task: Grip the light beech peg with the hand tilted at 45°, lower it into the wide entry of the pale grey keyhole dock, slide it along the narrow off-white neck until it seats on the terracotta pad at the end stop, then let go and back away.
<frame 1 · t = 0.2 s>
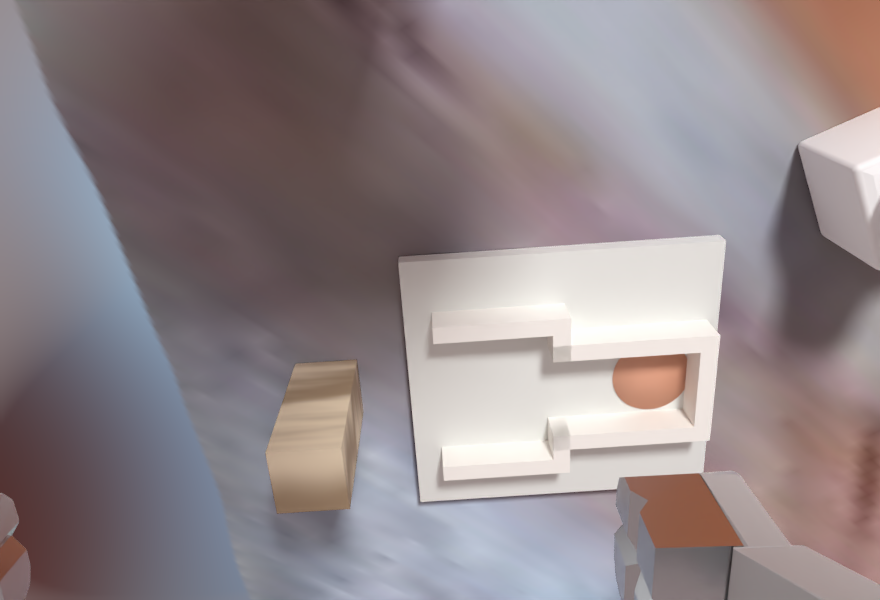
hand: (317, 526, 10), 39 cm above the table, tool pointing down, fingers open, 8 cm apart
medicine bottle: (858, 167, 48), on the table
keyhole dock: (558, 373, 54), on the table
beech peg: (329, 388, 54), on the table
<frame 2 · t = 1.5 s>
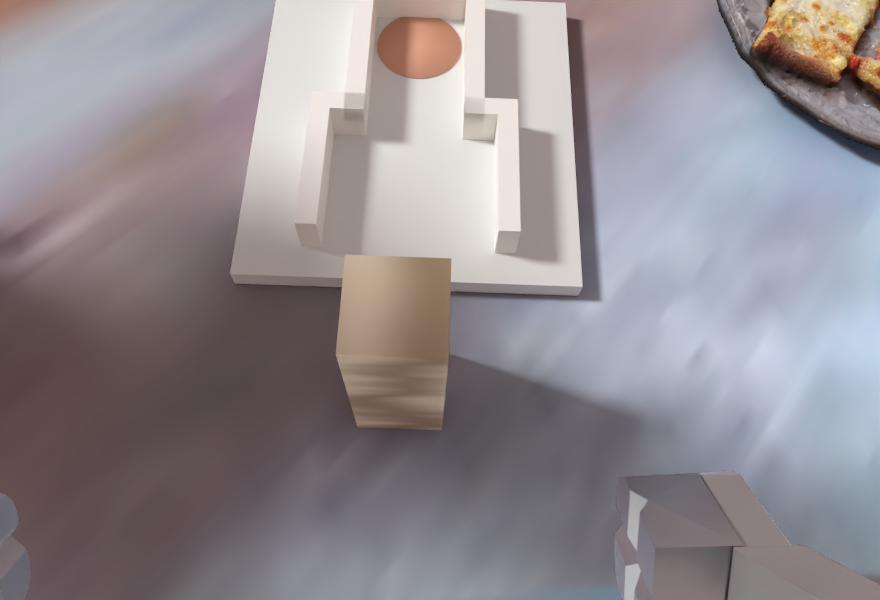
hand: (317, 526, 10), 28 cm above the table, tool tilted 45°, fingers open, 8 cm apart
food plate: (879, 34, 52), on the table
keyhole dock: (415, 136, 47), on the table
beech peg: (401, 388, 40), on the table
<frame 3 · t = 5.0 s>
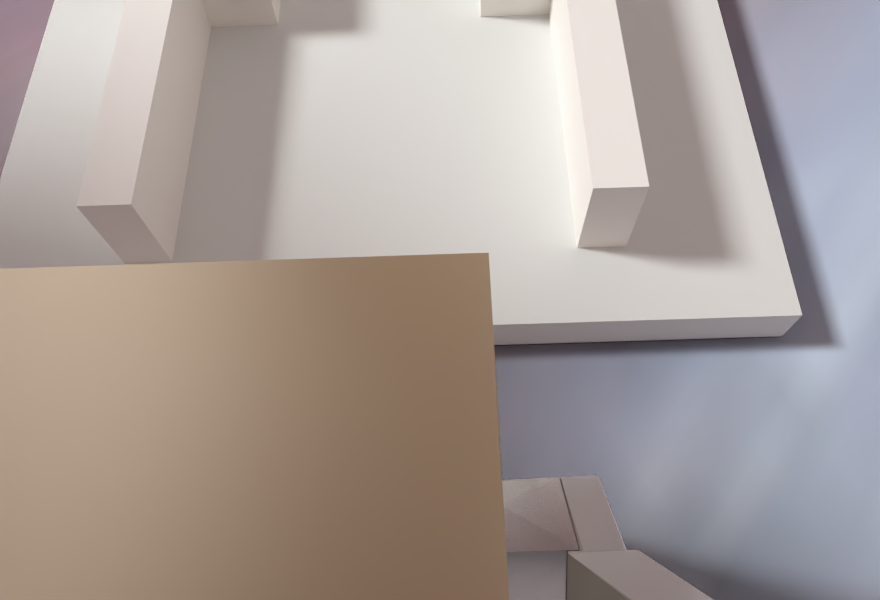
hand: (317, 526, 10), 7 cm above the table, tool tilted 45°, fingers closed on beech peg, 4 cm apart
keyhole dock: (383, 27, 23), on the table
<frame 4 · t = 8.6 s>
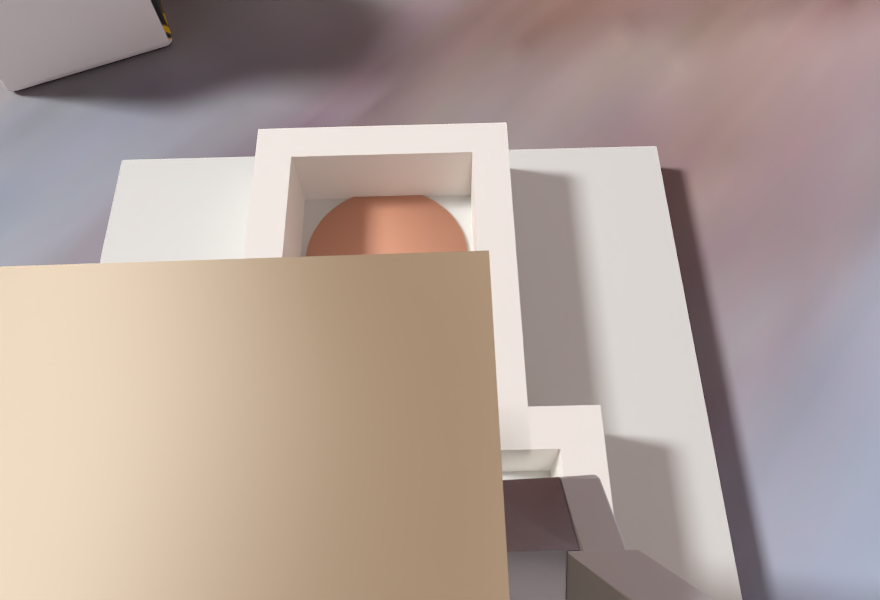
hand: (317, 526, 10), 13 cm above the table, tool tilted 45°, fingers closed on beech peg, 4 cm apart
medicine bottle: (81, 19, 33), on the table
keyhole dock: (387, 451, 23), on the table
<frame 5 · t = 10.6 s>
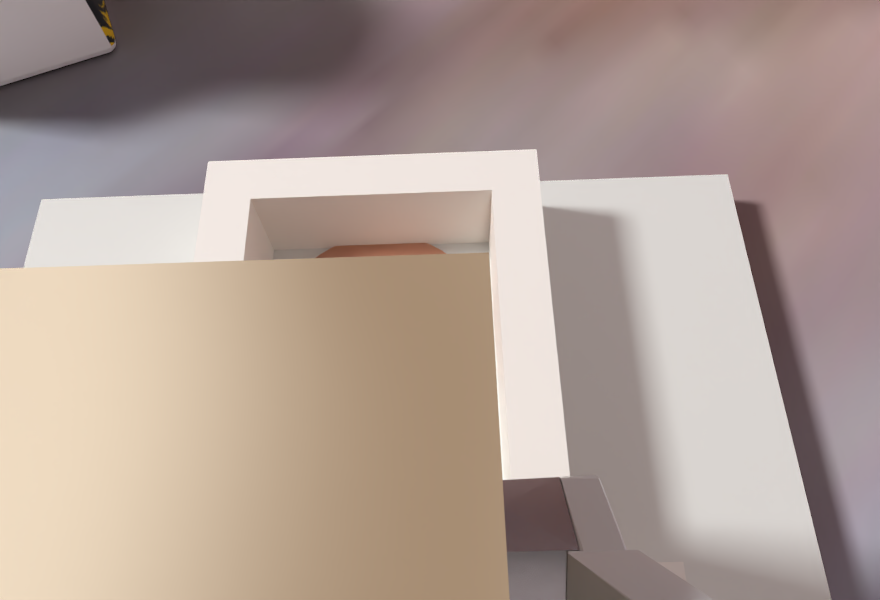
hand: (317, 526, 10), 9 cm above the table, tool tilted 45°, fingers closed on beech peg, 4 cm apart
medicine bottle: (8, 21, 27), on the table
keyhole dock: (381, 597, 17), on the table
when the fingers open (9 cm above the table, at t = 12.4 s): beech peg stays where it is, resting on keyhole dock.
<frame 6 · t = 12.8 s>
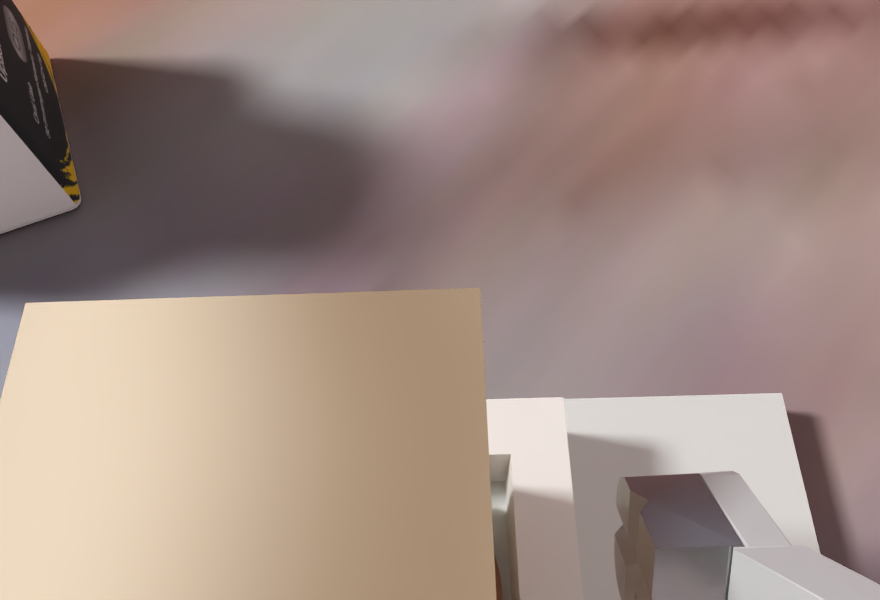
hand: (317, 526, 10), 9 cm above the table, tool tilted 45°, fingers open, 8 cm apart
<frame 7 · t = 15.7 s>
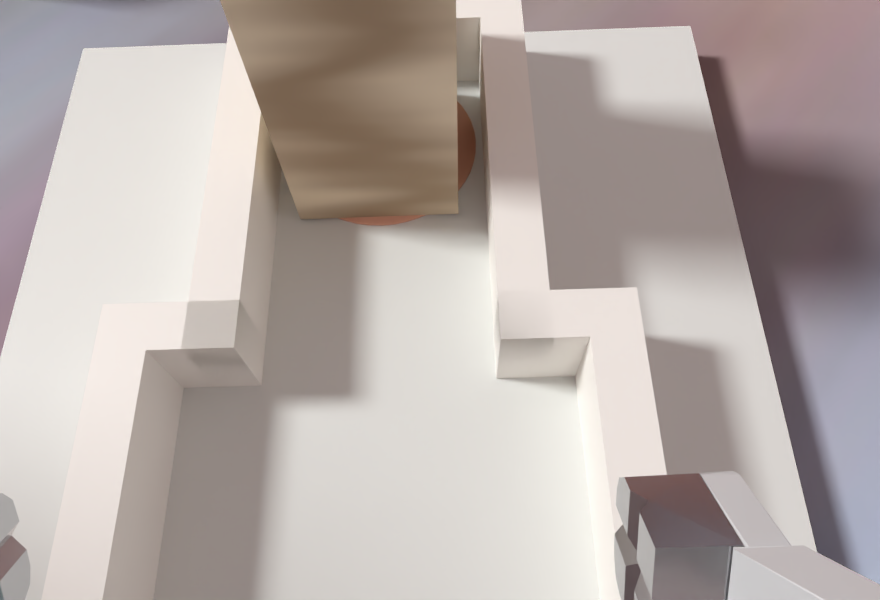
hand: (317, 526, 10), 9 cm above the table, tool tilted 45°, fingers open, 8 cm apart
keyhole dock: (383, 362, 20), on the table
beech peg: (380, 152, 22), point 1 cm above the table, touching keyhole dock
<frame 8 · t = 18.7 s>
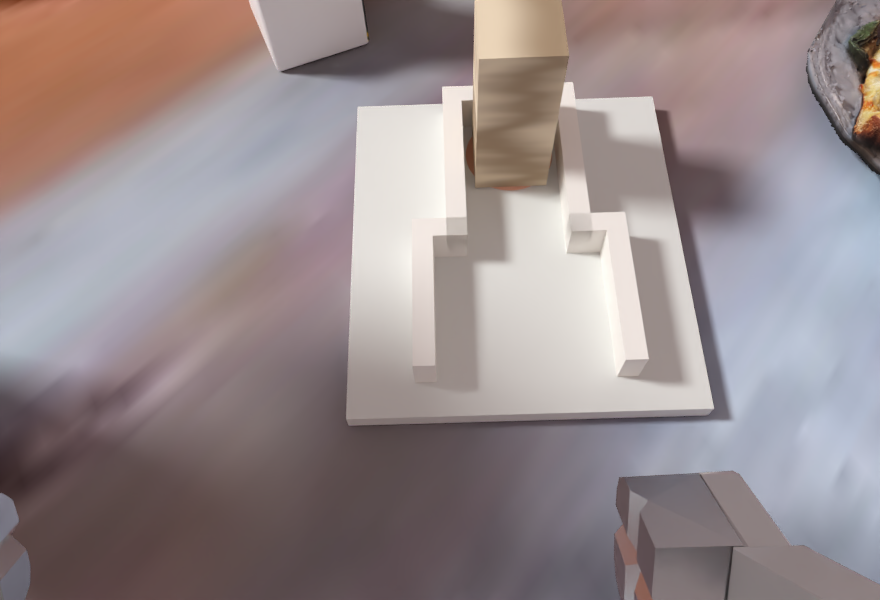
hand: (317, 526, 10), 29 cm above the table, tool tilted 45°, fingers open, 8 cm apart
medicine bottle: (310, 29, 55), on the table
keyhole dock: (514, 250, 46), on the table
beech peg: (508, 157, 47), point 1 cm above the table, touching keyhole dock
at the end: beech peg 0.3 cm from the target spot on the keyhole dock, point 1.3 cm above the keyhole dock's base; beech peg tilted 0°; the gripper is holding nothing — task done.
